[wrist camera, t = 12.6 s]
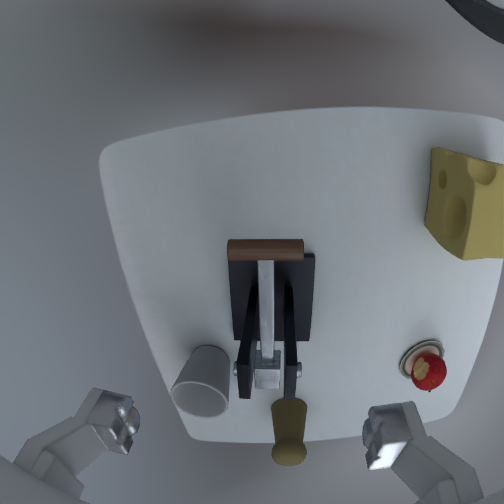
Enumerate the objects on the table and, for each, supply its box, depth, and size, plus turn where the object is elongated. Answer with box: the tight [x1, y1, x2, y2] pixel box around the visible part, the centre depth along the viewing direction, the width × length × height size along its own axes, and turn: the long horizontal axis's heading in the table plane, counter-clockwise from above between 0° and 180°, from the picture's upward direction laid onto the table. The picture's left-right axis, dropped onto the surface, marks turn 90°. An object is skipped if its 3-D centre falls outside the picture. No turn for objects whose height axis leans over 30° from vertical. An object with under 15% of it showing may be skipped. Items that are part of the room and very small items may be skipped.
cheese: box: [424, 147, 504, 260], centre depth 26 cm, size 10×11×10 cm
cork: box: [271, 398, 307, 466], centre depth 40 cm, size 6×6×11 cm
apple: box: [400, 341, 447, 392], centre depth 37 cm, size 8×8×6 cm
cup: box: [171, 346, 230, 418], centre depth 39 cm, size 8×10×8 cm
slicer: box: [228, 254, 315, 399], centre depth 31 cm, size 12×10×15 cm
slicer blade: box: [227, 239, 304, 389], centre depth 23 cm, size 14×5×2 cm, turn 2°
